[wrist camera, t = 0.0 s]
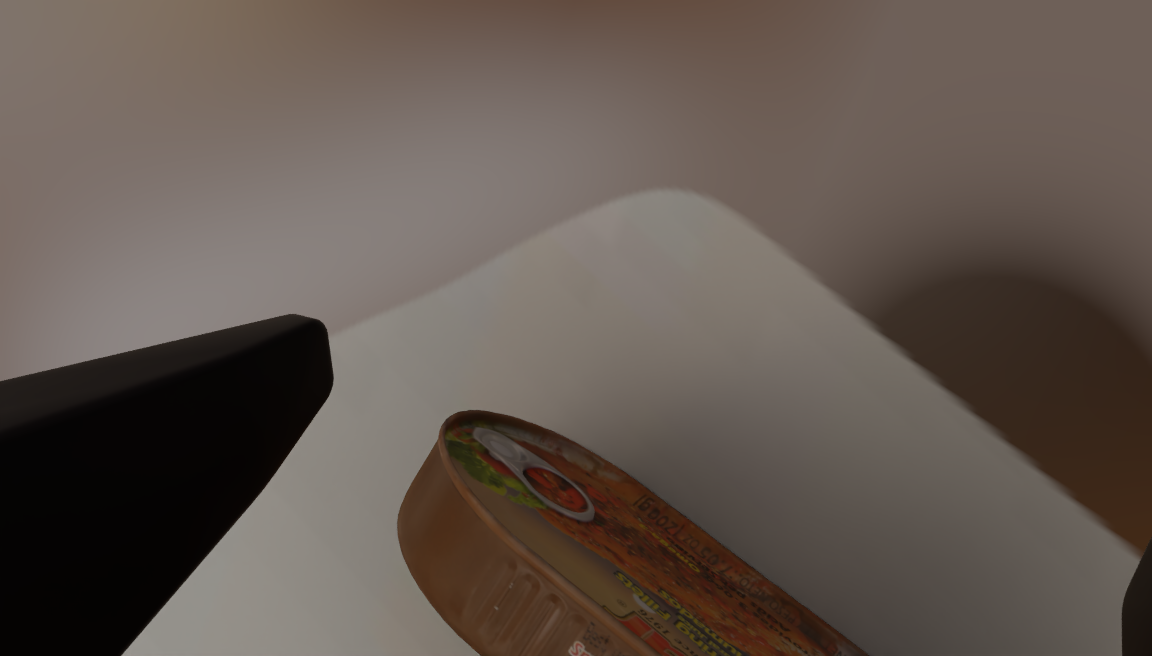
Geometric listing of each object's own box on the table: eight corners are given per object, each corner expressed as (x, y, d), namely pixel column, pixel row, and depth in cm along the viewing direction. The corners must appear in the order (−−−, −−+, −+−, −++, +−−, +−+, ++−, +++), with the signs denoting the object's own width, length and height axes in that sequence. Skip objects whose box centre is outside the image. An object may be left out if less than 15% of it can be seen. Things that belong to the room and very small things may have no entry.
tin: (1003, 755, 21) (1093, 964, 13) (927, 854, 21) (970, 1118, 13) (533, 400, 26) (388, 394, 18) (476, 486, 26) (308, 519, 18)
